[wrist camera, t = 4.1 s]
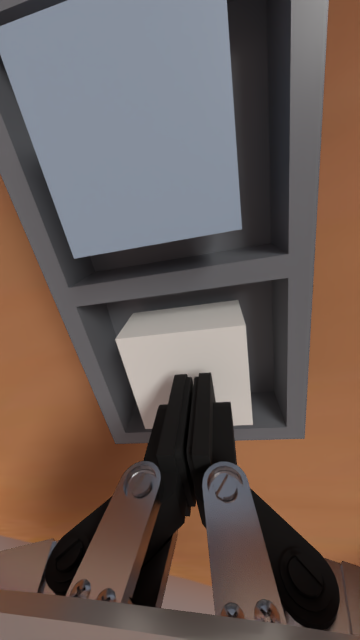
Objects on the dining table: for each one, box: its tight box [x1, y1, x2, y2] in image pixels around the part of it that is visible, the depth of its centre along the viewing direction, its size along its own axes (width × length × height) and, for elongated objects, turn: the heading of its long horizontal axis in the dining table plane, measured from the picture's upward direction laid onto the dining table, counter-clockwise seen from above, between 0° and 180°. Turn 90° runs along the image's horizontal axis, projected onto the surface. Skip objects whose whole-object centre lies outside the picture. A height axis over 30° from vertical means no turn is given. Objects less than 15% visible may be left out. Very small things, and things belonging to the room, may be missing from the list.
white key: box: [115, 300, 253, 429], centre depth 13 cm, size 6×6×3 cm
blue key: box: [0, 0, 242, 259], centre depth 8 cm, size 6×6×3 cm
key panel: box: [0, 0, 329, 444], centre depth 13 cm, size 12×21×4 cm, turn 10°
